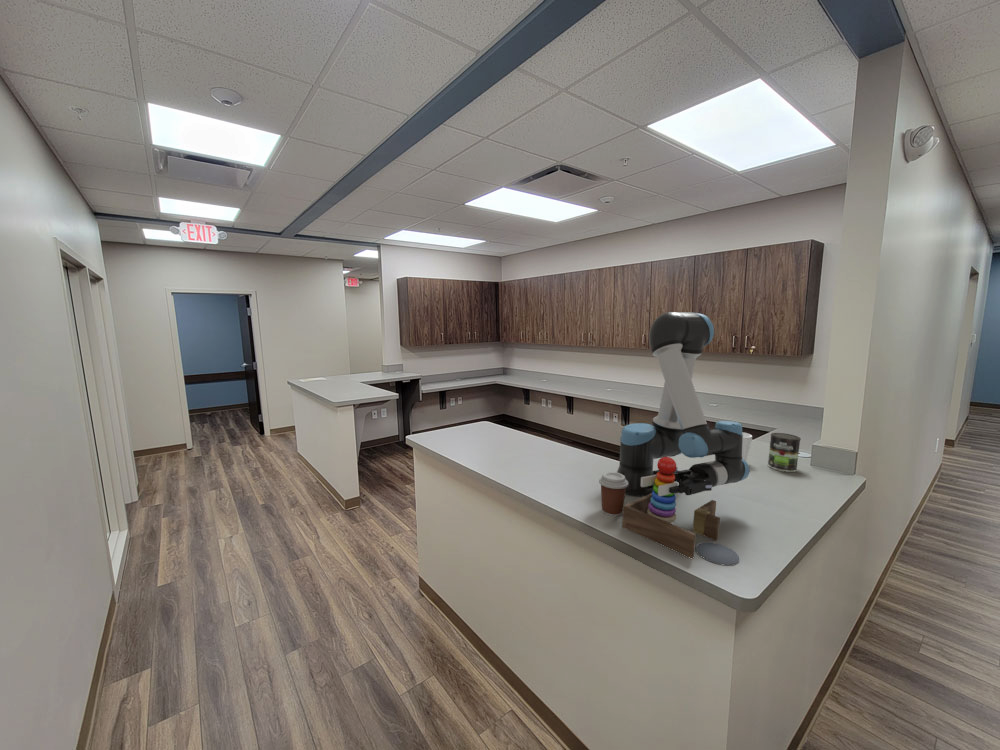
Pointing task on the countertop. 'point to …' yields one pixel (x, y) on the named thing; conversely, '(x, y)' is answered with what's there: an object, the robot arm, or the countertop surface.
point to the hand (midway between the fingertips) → (650, 486)
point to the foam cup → (746, 445)
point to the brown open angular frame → (667, 526)
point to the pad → (717, 553)
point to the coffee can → (784, 452)
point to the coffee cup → (613, 493)
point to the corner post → (700, 521)
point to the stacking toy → (663, 504)
